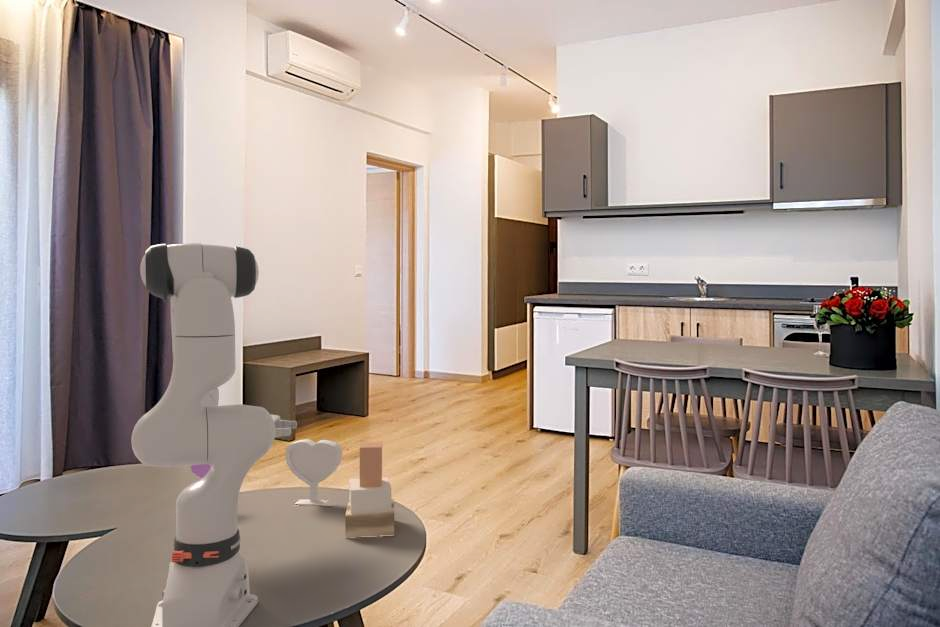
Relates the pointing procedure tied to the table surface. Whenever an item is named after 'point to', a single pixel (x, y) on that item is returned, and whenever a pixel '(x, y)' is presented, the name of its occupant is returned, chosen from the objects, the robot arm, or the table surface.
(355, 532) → the tower base
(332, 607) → the table surface
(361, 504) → the tower top
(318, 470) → the heart sculpture
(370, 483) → the terracotta block
